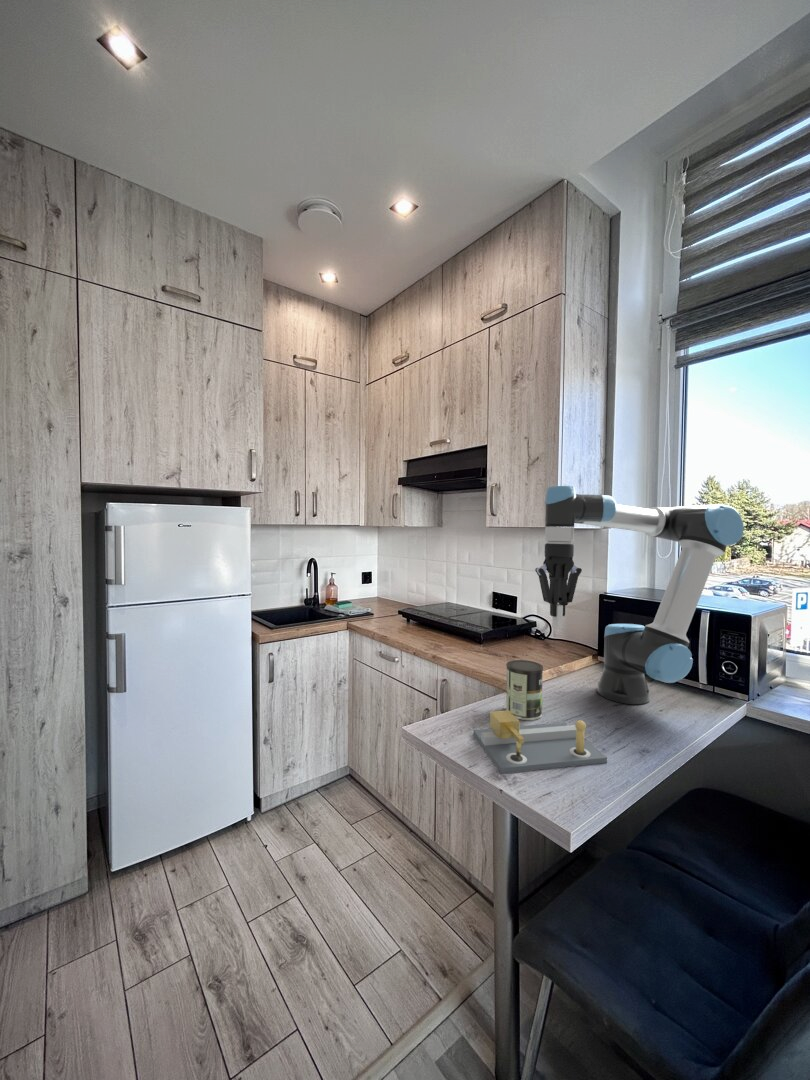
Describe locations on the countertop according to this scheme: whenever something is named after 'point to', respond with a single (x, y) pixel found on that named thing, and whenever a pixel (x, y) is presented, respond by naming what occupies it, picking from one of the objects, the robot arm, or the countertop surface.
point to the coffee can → (524, 689)
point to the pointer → (506, 727)
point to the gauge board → (541, 747)
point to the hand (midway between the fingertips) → (557, 627)
